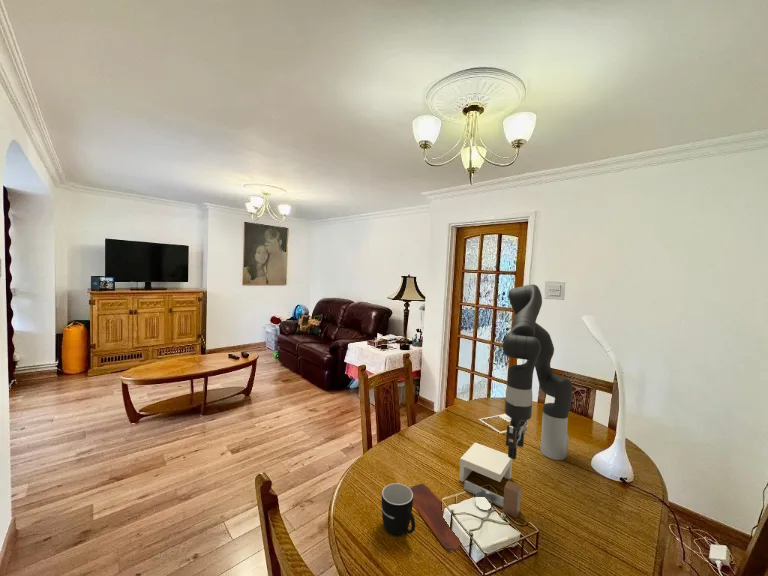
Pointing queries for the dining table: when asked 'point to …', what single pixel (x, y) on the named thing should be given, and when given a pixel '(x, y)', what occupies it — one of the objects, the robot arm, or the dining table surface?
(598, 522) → the dining table surface
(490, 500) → the token
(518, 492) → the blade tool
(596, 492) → the dining table surface
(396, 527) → the mug
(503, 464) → the plinth shelf
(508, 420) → the photo frame
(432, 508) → the wooden tablet
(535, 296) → the robot arm
